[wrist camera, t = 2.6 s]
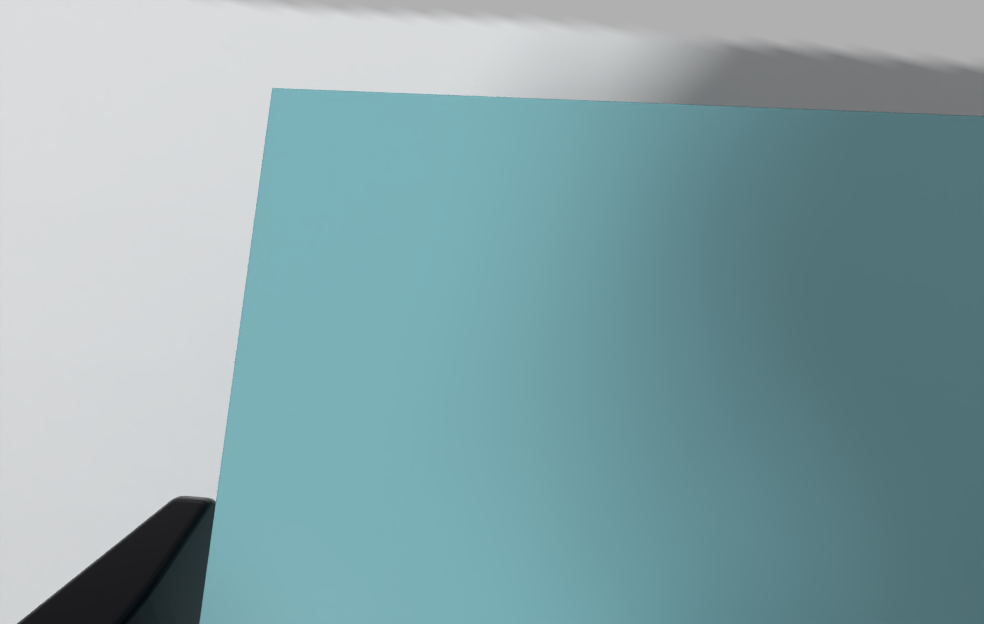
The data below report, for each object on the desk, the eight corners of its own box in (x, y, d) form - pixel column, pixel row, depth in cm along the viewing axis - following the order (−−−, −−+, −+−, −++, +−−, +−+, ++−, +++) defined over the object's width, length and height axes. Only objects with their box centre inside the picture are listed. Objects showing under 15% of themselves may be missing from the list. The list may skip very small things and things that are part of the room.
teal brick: (737, 663, 16) (1240, 1200, 4) (435, 634, 17) (142, 1037, 5) (744, 360, 17) (1159, 122, 5) (460, 341, 18) (272, 88, 6)
